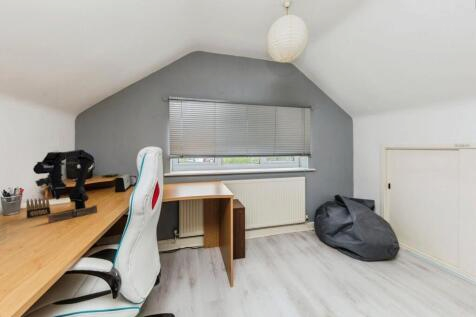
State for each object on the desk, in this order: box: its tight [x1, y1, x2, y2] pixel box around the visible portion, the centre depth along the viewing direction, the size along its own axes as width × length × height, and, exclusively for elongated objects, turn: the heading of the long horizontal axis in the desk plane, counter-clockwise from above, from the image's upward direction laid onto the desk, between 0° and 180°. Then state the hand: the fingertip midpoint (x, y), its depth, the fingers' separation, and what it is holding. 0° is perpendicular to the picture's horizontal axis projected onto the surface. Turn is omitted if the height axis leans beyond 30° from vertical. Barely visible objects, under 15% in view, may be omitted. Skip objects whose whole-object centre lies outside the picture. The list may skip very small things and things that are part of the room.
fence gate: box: [47, 210, 73, 224], centre depth 116 cm, size 2×10×4 cm, turn 139°
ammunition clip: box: [25, 196, 52, 219], centre depth 124 cm, size 11×2×12 cm, turn 127°
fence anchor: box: [71, 204, 98, 219], centre depth 125 cm, size 2×12×5 cm, turn 139°
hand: (55, 198), depth 118 cm, fingers open, 9 cm apart
